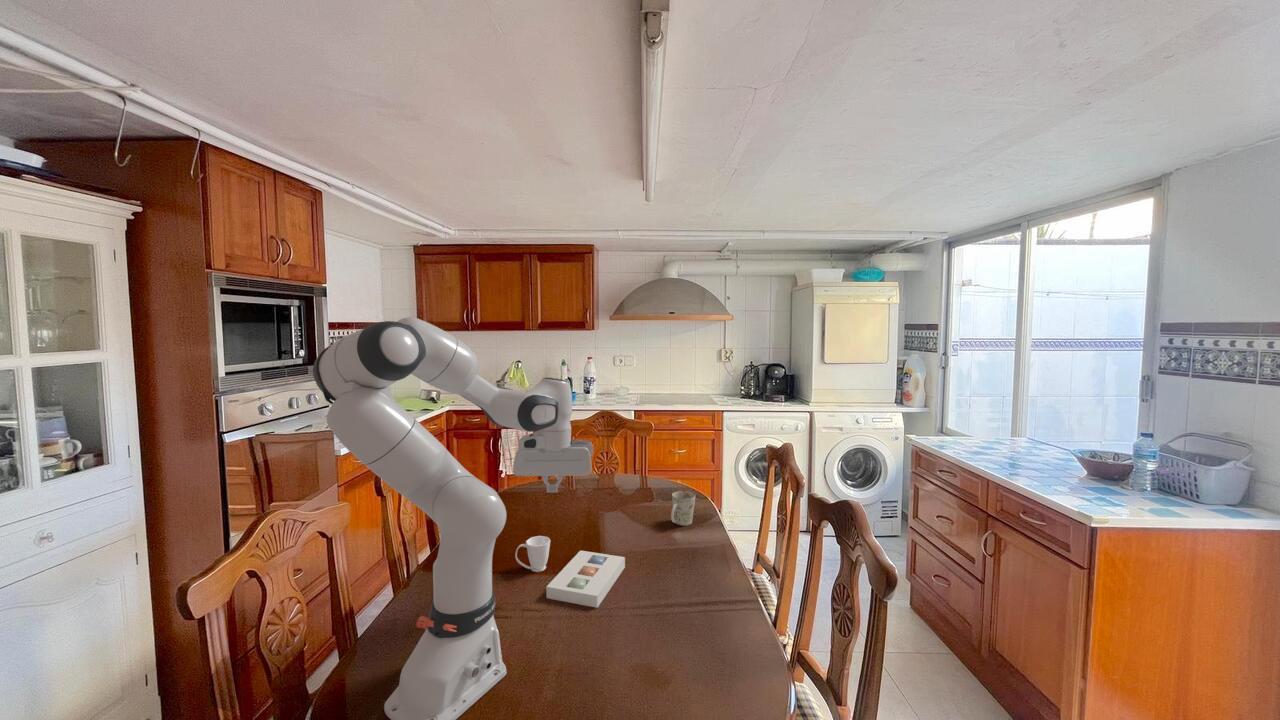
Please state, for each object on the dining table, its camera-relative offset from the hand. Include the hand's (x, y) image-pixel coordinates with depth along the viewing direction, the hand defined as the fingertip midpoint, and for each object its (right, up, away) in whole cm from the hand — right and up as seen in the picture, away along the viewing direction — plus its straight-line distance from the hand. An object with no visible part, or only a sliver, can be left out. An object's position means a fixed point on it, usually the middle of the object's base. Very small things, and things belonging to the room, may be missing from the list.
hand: (552, 491), depth 122 cm
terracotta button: (+9, -25, +4) cm, 27 cm away
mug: (+38, -24, +43) cm, 62 cm away
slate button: (+11, -25, +11) cm, 29 cm away
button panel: (+9, -26, +4) cm, 28 cm away
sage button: (+7, -26, -2) cm, 27 cm away
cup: (-8, -26, +12) cm, 29 cm away
